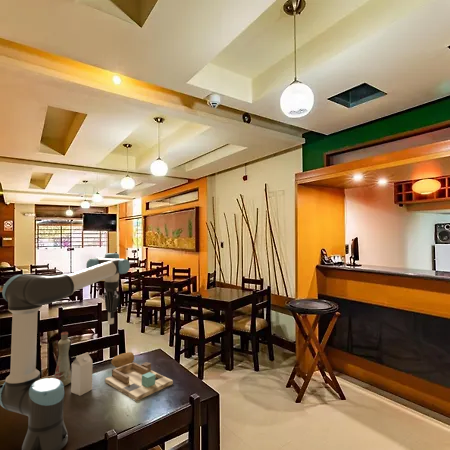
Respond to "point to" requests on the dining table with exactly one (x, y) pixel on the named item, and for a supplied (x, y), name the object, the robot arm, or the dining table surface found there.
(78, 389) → the milk carton
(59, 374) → the bottle
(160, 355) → the dining table surface
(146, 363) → the walnut cube
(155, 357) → the dining table surface
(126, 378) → the cubby board
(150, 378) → the teal block
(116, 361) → the potato
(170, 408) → the dining table surface
